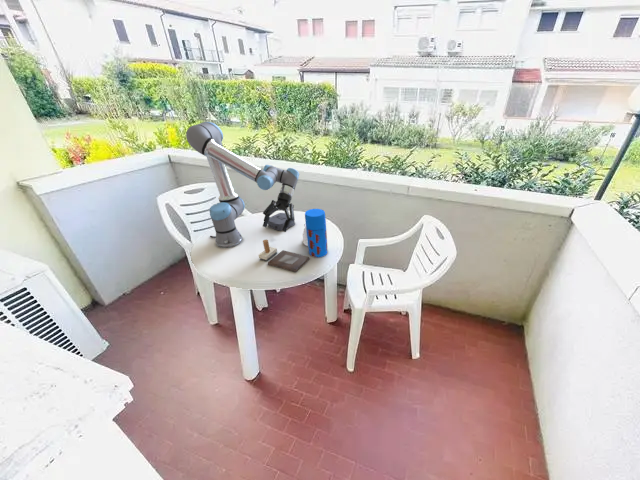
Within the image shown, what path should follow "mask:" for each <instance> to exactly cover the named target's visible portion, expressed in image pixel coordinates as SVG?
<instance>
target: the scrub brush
mask: <svg viewBox="0 0 640 480" xmlns="http://www.w3.org/2000/svg"><path fill="white" fill-rule="evenodd" d="M262 245H263V249H264V250H263V251H262V252H260V253H259V254H258V259H260V260H261V261H264V262H269V261H270V260H271V259H272V258H274V257H275V256H276V255H277V254H278V248H277V247H273V246H270V243H269V239H263V240H262Z"/></svg>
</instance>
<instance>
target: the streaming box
mask: <svg viewBox="0 0 640 480" xmlns="http://www.w3.org/2000/svg"><path fill="white" fill-rule="evenodd" d="M269 217H270V219H269V222H268V224H267V227H269V228H271V229H273V230H276V231H278V232H281V231H282V230H283V227H284V224H285V221H286V220H287V217H286V214H285V212H278V213H276V214H274V215H272V216H269ZM295 221H296V220H294V221H291V222H290V225H289V227H288V228H287V229H289V228H291V227H293V226H295V225H296V222H295ZM282 232H283V231H282Z"/></svg>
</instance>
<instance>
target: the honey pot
mask: <svg viewBox="0 0 640 480" xmlns="http://www.w3.org/2000/svg"><path fill="white" fill-rule="evenodd" d="M303 226H304V228H303V232H302V242H303V245H304V246H306V247H308V240H307V231H306V222H305V223H304V225H303Z"/></svg>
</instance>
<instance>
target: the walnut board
mask: <svg viewBox="0 0 640 480" xmlns="http://www.w3.org/2000/svg"><path fill="white" fill-rule="evenodd" d="M309 260H310V256H308V255H304V254H299V253H295V252H292V251H288V250H284V249H283V250H281V251H280V252H279V253H276V254H275V255H274V256H273V257H271V258H270V259H269V260H268V261H267V265H268V266H271V267H276V268H278V269H281V270H282V269H283V270H286V271H289V272H293V273H297V272H298V271H299V270H300V269H301V268H302V267H303V266H305V264H306V263H308V261H309Z"/></svg>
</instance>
